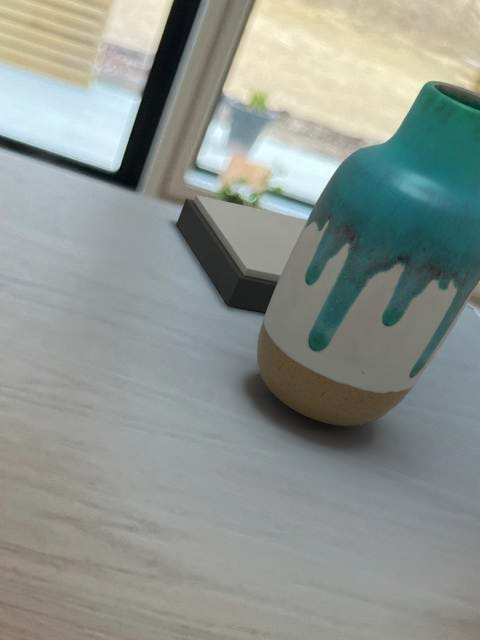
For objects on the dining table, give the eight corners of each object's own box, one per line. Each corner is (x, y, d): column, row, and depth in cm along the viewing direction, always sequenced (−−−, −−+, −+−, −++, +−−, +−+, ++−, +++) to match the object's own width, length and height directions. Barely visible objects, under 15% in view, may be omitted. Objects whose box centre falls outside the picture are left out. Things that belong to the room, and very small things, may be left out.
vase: (284, 451, 63) (459, 123, 50) (205, 356, 70) (343, 46, 57) (415, 455, 67) (607, 154, 55) (329, 366, 74) (483, 79, 61)
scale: (331, 257, 91) (346, 226, 89) (398, 338, 81) (417, 305, 80) (175, 224, 87) (188, 190, 85) (227, 305, 77) (243, 270, 75)
